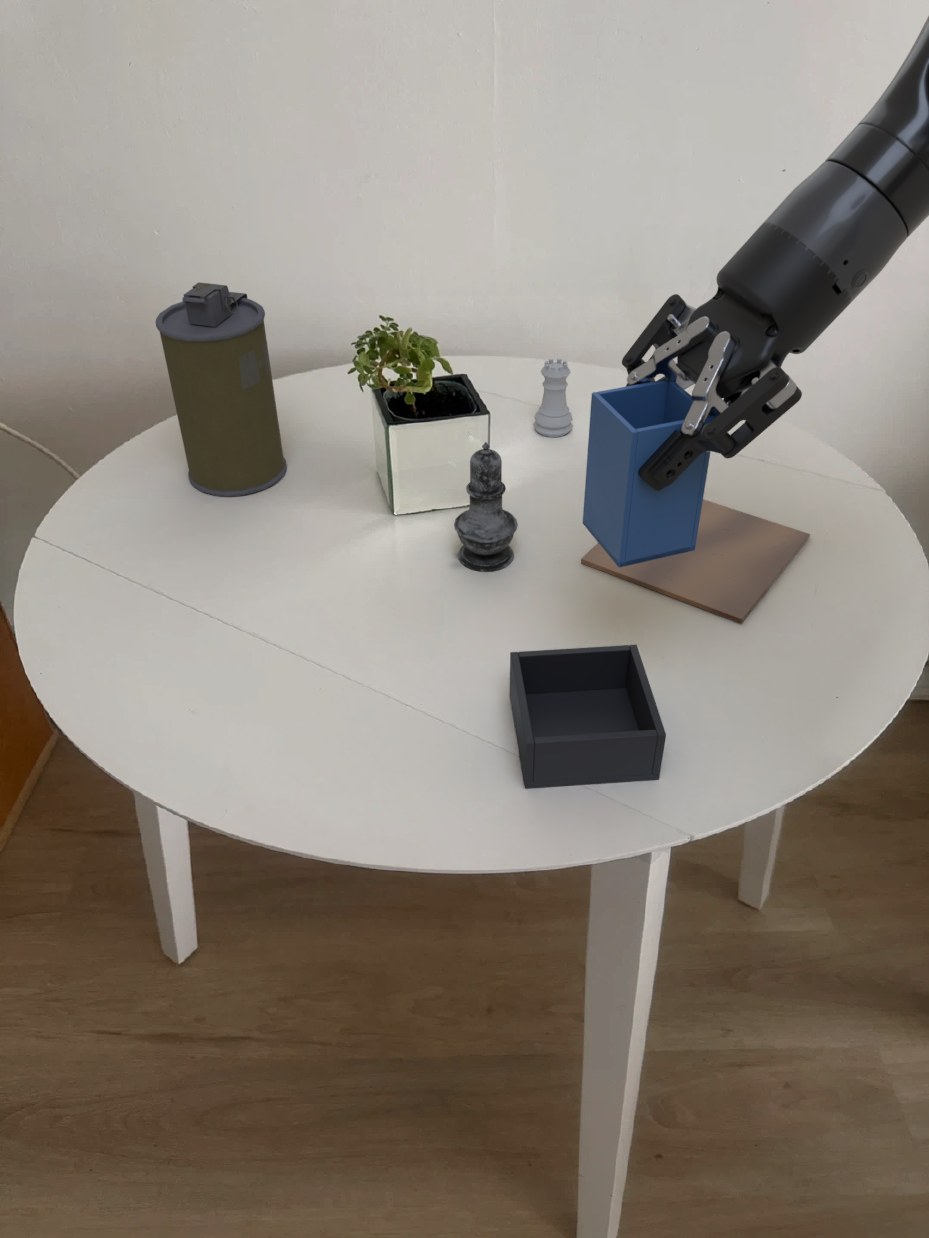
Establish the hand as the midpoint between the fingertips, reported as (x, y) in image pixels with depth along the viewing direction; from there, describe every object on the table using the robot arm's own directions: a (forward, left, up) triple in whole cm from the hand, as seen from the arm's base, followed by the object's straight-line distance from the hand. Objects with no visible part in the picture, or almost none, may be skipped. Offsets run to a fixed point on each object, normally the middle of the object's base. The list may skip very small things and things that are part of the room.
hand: (625, 458), depth 67 cm
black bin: (-2, +6, -20) cm, 21 cm away
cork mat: (+2, -21, -20) cm, 30 cm away
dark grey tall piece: (+18, -9, -21) cm, 29 cm away
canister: (+49, -7, -21) cm, 54 cm away
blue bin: (-1, -1, -7) cm, 7 cm away
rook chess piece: (+26, -34, -21) cm, 48 cm away
